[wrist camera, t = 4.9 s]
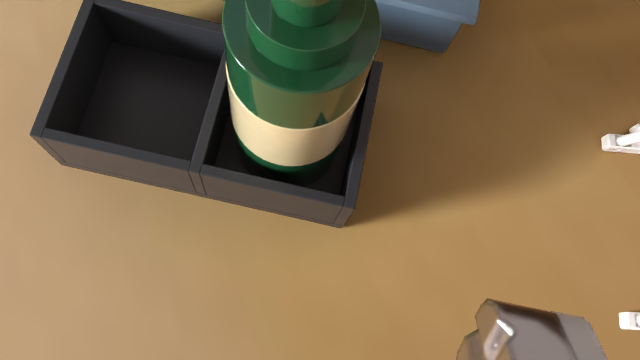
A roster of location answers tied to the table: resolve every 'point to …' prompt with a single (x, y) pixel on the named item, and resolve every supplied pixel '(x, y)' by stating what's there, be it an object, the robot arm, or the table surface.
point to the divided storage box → (176, 114)
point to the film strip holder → (630, 143)
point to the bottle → (296, 80)
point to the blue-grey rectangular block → (425, 21)
